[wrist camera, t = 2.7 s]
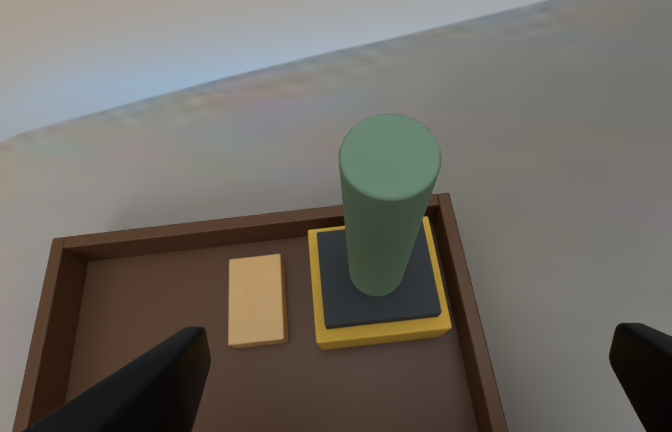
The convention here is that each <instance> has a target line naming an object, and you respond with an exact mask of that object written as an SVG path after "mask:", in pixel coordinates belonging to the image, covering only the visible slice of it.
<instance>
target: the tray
mask: <svg viewBox="0 0 672 432" xmlns="http://www.w3.org/2000/svg"><path fill="white" fill-rule="evenodd" d="M426 216H427V217H428V219H429V224H430V228H431V233H432V238H433V242H434V247H435V251H436V256H437V261H438V265H439V270H440V275H441V279H442V284H443V288H444V293H445V298H446V302H447V307H448V312H449V316H450V321H451V325H452V328H451V329H450V330H448V331H447V332H446V333H445V334H443V335H442V336H441V337H435V338H426V339H418V340H409V341H400V342H391V343H382V344H373V345H364V346H355V347H346V348H337V349H328V350H322V349H321V348H320V346H319V345H318V344H317V342H316V332H315V319H314V306H313V293H312V280H311V267H310V254H309V241H308V230H313V229H322V228H330V227H339V226H345V221H344V210H343V205H338V206H329V207H320V208H312V209H303V210H294V211H286V212H277V213H269V214H260V215H251V216H243V217H234V218H225V219H217V220H208V221H199V222H191V223H182V224H173V225H165V226H156V227H147V228H139V229H130V230H121V231H113V232H104V233H95V234H87V235H78V236H69V237H62V238H54V239H53V241H52V246H51V250H50V255H49V260H48V265H47V269H46V274H45V279H44V284H43V288H42V293H41V298H40V303H39V307H38V312H37V317H36V322H35V327H34V331H33V336H32V341H31V346H30V350H29V355H28V360H27V365H26V369H25V374H24V379H23V384H22V388H21V393H20V398H19V403H18V407H17V412H16V417H15V422H14V426H13V431H12V432H21V431H23V430H24V429H26V428H28V427H29V428H31V426H32V425H33V424H34V423H36V422H37V421H39V420H40V419H42V418H43V417H45V416H47V415H48V414H50V413H51V412H53V411H54V410H56V409H57V408H59V407H61V406H62V405H64V404H65V403H67V402H68V401H70V400H72V399H73V398H75V397H76V396H78V395H79V394H81V393H83V392H84V391H86V390H87V389H89V388H90V387H92V386H94V385H95V384H97V383H98V382H100V381H101V380H103V379H105V378H106V377H108V376H109V375H111V374H112V373H114V372H116V371H117V370H119V369H120V368H122V367H123V366H125V365H126V364H128V363H130V362H131V361H133V360H134V359H136V358H137V357H139V356H141V355H142V354H144V353H145V352H147V351H148V350H150V349H152V348H153V347H155V346H156V345H158V344H159V343H161V342H163V341H164V340H166V339H167V338H169V337H170V336H172V335H173V334H175V333H177V332H178V331H180V330H181V329H183V328H185V327H189V326H202V327H204V328H205V330H206V332H207V338H208V343H209V349H210V354H211V365H210V369H209V373H208V376H207V380H206V383H205V387H204V390H203V394H202V398H201V401H200V405H199V408H198V412H197V415H196V419H195V422H194V425H193V429H192V432H508V429H507V425H506V421H505V416H504V412H503V408H502V404H501V400H500V396H499V392H498V388H497V384H496V380H495V376H494V372H493V368H492V364H491V360H490V356H489V352H488V348H487V344H486V340H485V336H484V332H483V328H482V324H481V320H480V315H479V311H478V307H477V303H476V299H475V295H474V291H473V287H472V283H471V279H470V275H469V271H468V267H467V263H466V259H465V255H464V251H463V247H462V243H461V239H460V235H459V231H458V227H457V223H456V219H455V215H454V210H453V206H452V202H451V198H450V194H449V193H443V194H433V195H431V197H430V199H429V202H428V205H427V208H426V211H425V214H424V217H426ZM273 254H281V256H282V258H283V260H284V262H285V281H286V302H287V322H288V342H287V343H280V344H271V345H262V346H254V347H245V348H234V347H232V346H229V345H228V311H229V260H230V259H238V258H246V257H255V256H264V255H273Z"/></svg>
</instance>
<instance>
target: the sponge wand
mask: <svg viewBox="0 0 672 432" xmlns="http://www.w3.org/2000/svg"><path fill="white" fill-rule="evenodd" d="M339 167H340V178H341V188H342V199H343V210H344V221H345V226H339V227H330V228H322V229H313V230H308V241H309V254H310V267H311V280H312V293H313V306H314V319H315V332H316V342H317V344H318V345H319V346H320V348H321V349H322V350H328V349H337V348H346V347H355V346H364V345H373V344H382V343H391V342H400V341H409V340H418V339H426V338H435V337H441V336H442V335H443V334H445V333H446V332H447V331H448V330H450V329H451V328H452V325H451V321H450V316H449V312H448V307H447V302H446V298H445V293H444V288H443V284H442V279H441V275H440V270H439V265H438V261H437V256H436V251H435V247H434V242H433V238H432V233H431V228H430V224H429V219H428V217H427V216H426V217H424V214H425V211H426V208H427V205H428V202H429V199H430V197H431V194H432V191H433V188H434V185H435V182H436V179H437V176H438V173H439V170H440V167H441V152H440V148H439V145H438V143H437V141H436V139H435V137H434V136H433V134H432V133H431V132H430V131H429V130H428V129H427V128H426V127H425V126H424V125H422V124H421V123H419V122H418V121H416V120H414V119H411V118H409V117H406V116H402V115H396V114H383V115H377V116H373V117H370V118H367V119H365V120H363V121H361V122H359V123H358V124H357V125H355V126H354V127H353V128H352V129H351V130H350V131H349V132H348V134H347V135H346V136H345V138H344V140H343V142H342V144H341V147H340V150H339Z"/></svg>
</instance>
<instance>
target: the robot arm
mask: <svg viewBox="0 0 672 432" xmlns="http://www.w3.org/2000/svg"><path fill="white" fill-rule="evenodd" d="M609 360H610V364H611V367H612V369H613V371H614V372H615V374H616V376H617V378H618V380H619V382H620V384H621V386H622V387H623V389H624V391H625V393H626V395H627V397H628V399H629V401H630V402H631V404H632V406H633V408H634V410H635V412H636V414H637V416H638V417H639V419H640V421H641V423H642V425H643V426H644V428H645V430H646V432H672V336H669V335H667V334H665V333H663V332H660V331H658V330H656V329H653V328H651V327H649V326H646V325H644V324H641V323H621V324H619V325H617V327H616V329H615V332H614V336H613V340H612V345H611V349H610V353H609ZM210 365H211V354H210V349H209V343H208V338H207V332H206V330H205V328H204V327H202V326H189V327H185V328H183V329H181V330H180V331H178V332H177V333H175V334H173V335H172V336H170V337H169V338H167V339H166V340H164V341H163V342H161V343H159V344H158V345H156V346H155V347H153V348H152V349H150V350H148V351H147V352H145V353H144V354H142V355H141V356H139V357H137V358H136V359H134V360H133V361H131V362H130V363H128V364H126V365H125V366H123V367H122V368H120V369H119V370H117V371H116V372H114V373H112V374H111V375H109V376H108V377H106V378H105V379H103V380H101V381H100V382H98V383H97V384H95V385H94V386H92V387H90V388H89V389H87V390H86V391H84V392H83V393H81V394H79V395H78V396H76V397H75V398H73V399H72V400H70V401H68V402H67V403H65V404H64V405H62V406H61V407H59V408H57V409H56V410H54V411H53V412H51V413H50V414H48V415H47V416H45V417H43V418H42V419H40V420H39V421H37V422H36V423H34V424H33V425H32V426H31V428H29V427H28V428H26V429H24V430H23V431H21V432H192V429H193V425H194V422H195V419H196V415H197V412H198V408H199V405H200V401H201V398H202V394H203V390H204V387H205V383H206V380H207V376H208V373H209V369H210Z"/></svg>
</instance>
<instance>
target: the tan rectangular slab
mask: <svg viewBox="0 0 672 432" xmlns="http://www.w3.org/2000/svg"><path fill="white" fill-rule="evenodd" d="M287 342H288V322H287V302H286V281H285V262H284V260H283V258H282V256H281V254H273V255H264V256H255V257H246V258H238V259H230V260H229V311H228V345H229V346H232V347H234V348H245V347H254V346H262V345H271V344H280V343H287Z"/></svg>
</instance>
